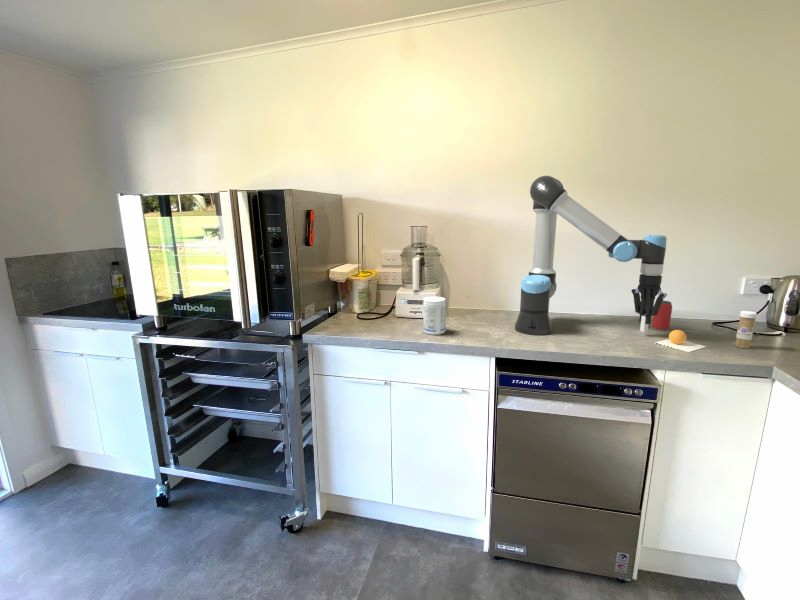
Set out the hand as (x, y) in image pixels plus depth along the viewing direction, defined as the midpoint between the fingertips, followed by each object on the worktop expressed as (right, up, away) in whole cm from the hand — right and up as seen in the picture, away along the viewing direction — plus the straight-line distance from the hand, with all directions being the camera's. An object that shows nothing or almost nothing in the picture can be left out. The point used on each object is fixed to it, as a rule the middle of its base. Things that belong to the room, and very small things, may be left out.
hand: (643, 331), depth 159 cm
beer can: (+14, 0, +11) cm, 17 cm away
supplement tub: (-85, -1, +8) cm, 86 cm away
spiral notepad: (+6, -4, -12) cm, 14 cm away
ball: (+6, -1, -11) cm, 13 cm away
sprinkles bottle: (+28, -5, -14) cm, 32 cm away
